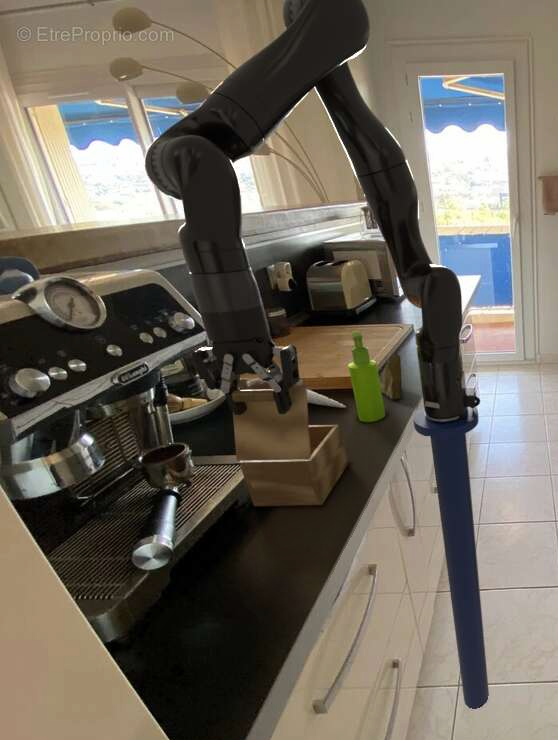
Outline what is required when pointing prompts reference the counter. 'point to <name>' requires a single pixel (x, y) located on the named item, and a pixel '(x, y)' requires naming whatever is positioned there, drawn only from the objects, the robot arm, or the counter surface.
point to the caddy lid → (271, 423)
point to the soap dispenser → (365, 382)
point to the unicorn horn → (321, 400)
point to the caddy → (299, 472)
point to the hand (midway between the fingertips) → (262, 412)
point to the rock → (392, 378)
